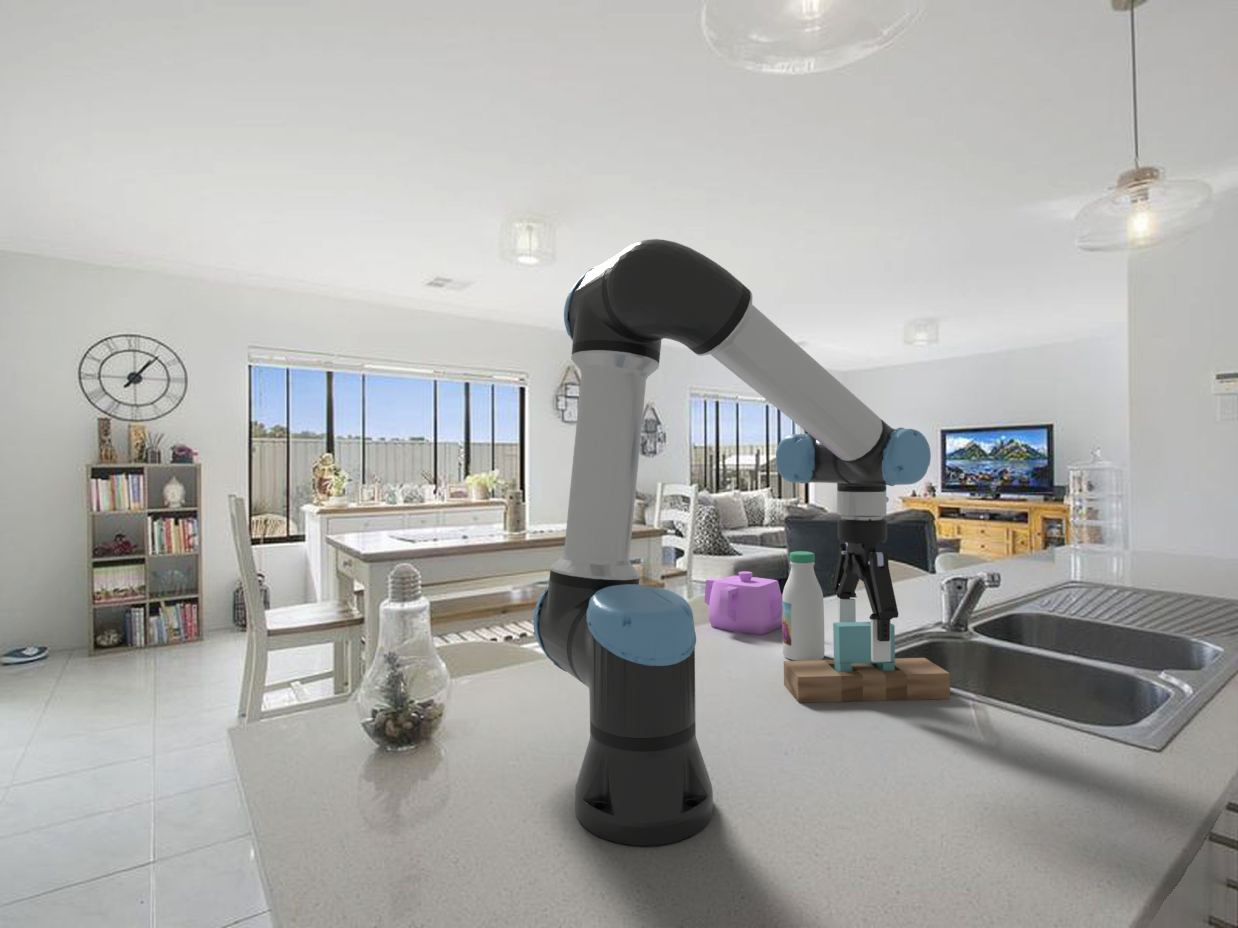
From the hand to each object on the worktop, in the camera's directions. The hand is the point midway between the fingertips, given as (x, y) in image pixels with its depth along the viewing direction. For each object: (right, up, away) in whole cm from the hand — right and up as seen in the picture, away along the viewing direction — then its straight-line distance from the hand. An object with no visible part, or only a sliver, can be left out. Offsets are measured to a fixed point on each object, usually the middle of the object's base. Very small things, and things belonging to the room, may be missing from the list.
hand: (862, 648), depth 106 cm
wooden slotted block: (0, -7, 0) cm, 7 cm away
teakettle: (-10, -7, +43) cm, 45 cm away
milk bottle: (-4, -7, +19) cm, 21 cm away
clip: (0, -7, 0) cm, 7 cm away
